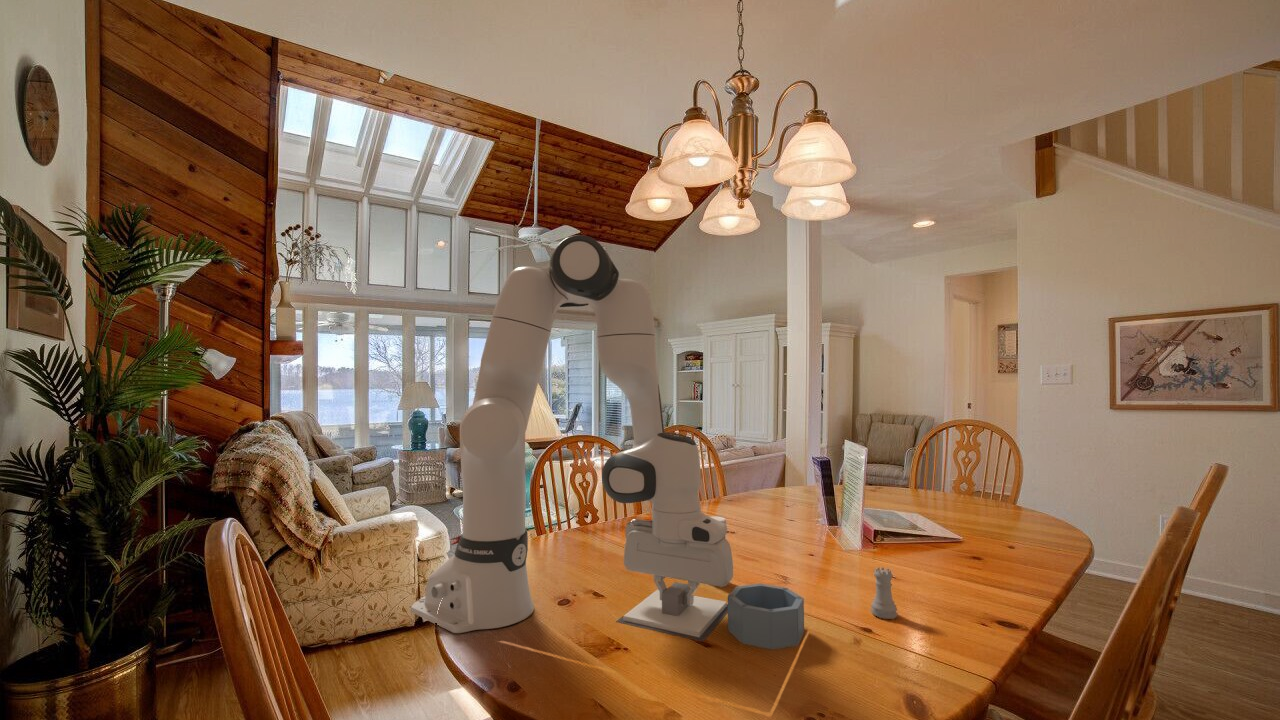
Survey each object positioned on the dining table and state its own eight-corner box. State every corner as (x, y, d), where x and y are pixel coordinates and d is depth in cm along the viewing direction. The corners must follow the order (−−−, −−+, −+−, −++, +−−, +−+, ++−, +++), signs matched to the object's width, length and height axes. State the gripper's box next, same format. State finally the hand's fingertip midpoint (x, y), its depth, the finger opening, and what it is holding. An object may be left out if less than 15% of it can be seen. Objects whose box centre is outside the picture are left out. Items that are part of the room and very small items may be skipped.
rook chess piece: (882, 621, 95) (881, 574, 96) (865, 611, 99) (864, 566, 100) (903, 618, 96) (902, 572, 97) (885, 608, 101) (885, 564, 101)
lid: (623, 620, 95) (623, 595, 95) (657, 593, 107) (657, 570, 107) (699, 637, 88) (699, 610, 89) (726, 606, 101) (726, 582, 101)
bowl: (721, 640, 88) (720, 602, 88) (742, 614, 98) (741, 580, 99) (794, 657, 83) (793, 616, 83) (808, 627, 93) (807, 591, 93)
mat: (615, 624, 94) (615, 621, 94) (655, 592, 109) (655, 590, 109) (703, 643, 87) (703, 641, 87) (733, 607, 101) (733, 605, 101)
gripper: (617, 521, 100) (617, 598, 100) (724, 535, 91) (725, 619, 91) (633, 514, 106) (633, 586, 105) (735, 526, 97) (736, 606, 96)
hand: (676, 602), depth 98 cm, fingers closed on lid, 3 cm apart
